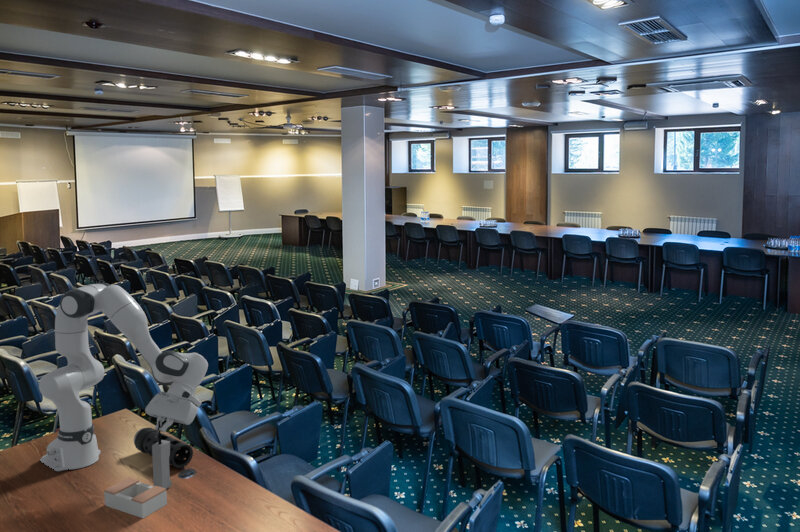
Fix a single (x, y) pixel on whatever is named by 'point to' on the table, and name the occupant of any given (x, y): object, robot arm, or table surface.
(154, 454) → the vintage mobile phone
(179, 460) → the muzzle brake
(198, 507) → the table surface
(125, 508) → the tan rectangular frame
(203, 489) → the table surface
